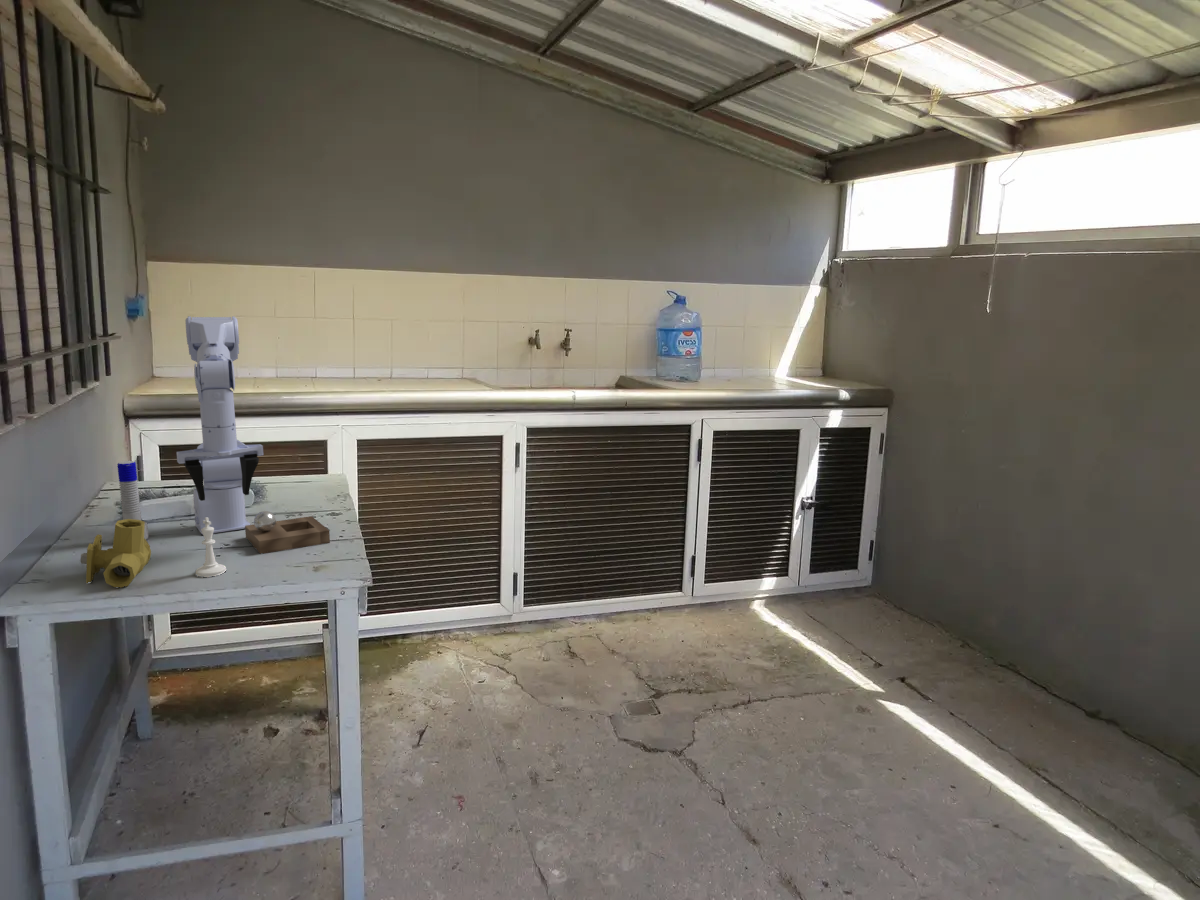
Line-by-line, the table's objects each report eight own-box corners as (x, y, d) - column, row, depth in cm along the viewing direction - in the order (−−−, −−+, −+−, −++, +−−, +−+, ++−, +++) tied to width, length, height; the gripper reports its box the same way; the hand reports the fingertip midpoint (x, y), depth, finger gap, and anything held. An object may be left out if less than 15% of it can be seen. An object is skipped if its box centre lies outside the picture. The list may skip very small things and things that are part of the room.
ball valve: (153, 566, 147) (89, 564, 144) (156, 513, 145) (91, 509, 142) (137, 595, 136) (68, 593, 132) (141, 537, 134) (70, 534, 130)
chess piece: (206, 579, 139) (201, 523, 137) (189, 574, 141) (184, 518, 139) (232, 571, 143) (228, 516, 141) (215, 566, 145) (211, 512, 143)
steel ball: (257, 535, 155) (255, 515, 155) (252, 530, 158) (250, 510, 158) (278, 532, 158) (277, 512, 157) (273, 527, 161) (272, 507, 160)
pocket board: (260, 554, 152) (259, 541, 152) (245, 537, 162) (245, 525, 161) (329, 542, 160) (329, 530, 159) (312, 527, 169) (311, 516, 169)
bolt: (142, 543, 157) (114, 544, 157) (153, 536, 162) (126, 536, 162) (134, 465, 154) (106, 465, 154) (145, 459, 159) (118, 459, 159)
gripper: (178, 432, 143) (185, 506, 145) (265, 425, 151) (270, 495, 153) (172, 426, 148) (178, 498, 151) (256, 419, 156) (260, 488, 159)
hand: (224, 496), depth 153 cm, fingers open, 7 cm apart
